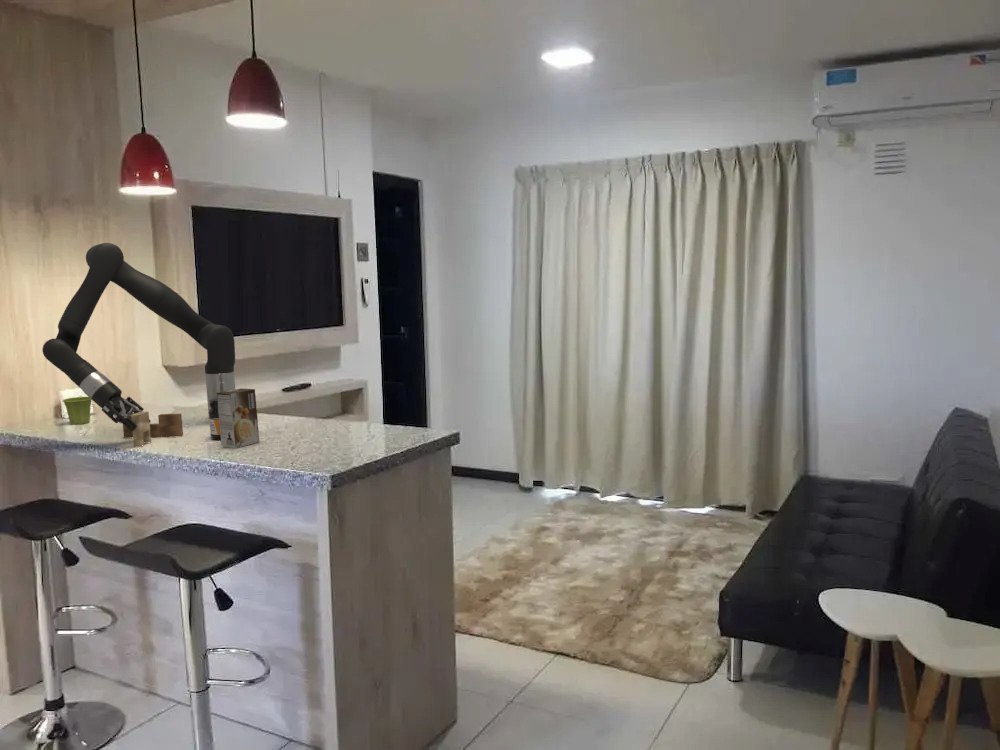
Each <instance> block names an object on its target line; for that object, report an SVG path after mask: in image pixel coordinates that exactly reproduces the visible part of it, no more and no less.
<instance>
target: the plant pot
mask: <svg viewBox="0 0 1000 750" xmlns="http://www.w3.org/2000/svg"><path fill="white" fill-rule="evenodd" d="M92 401H93V400H92V399H91V398H89V397H88V396H77V397H76V396H75V397H68V398H64V399H62V403H63V405H64V406H65V409H66V413H67V417H68V419H69V423H70V425H73V424H75V425H77V424H78V425H83V424H84V423H85V424H88V423H90V421H91V406H92V405H91V404H92Z"/></svg>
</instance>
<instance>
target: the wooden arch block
mask: <svg viewBox="0 0 1000 750" xmlns="http://www.w3.org/2000/svg"><path fill="white" fill-rule="evenodd" d="M149 419H150V415H149V411H142V412H139V413H136V414H133V415H131V420H132V422H134V423H135V424H136V425H137V428H136V429H135V430H134V431H133V438H132V440H133V447H134V446H142V445H144V446H145V443H144V442H151V443H152V437H151V433H150V424H151V422H150V423H149ZM142 447H143V446H142Z"/></svg>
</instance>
